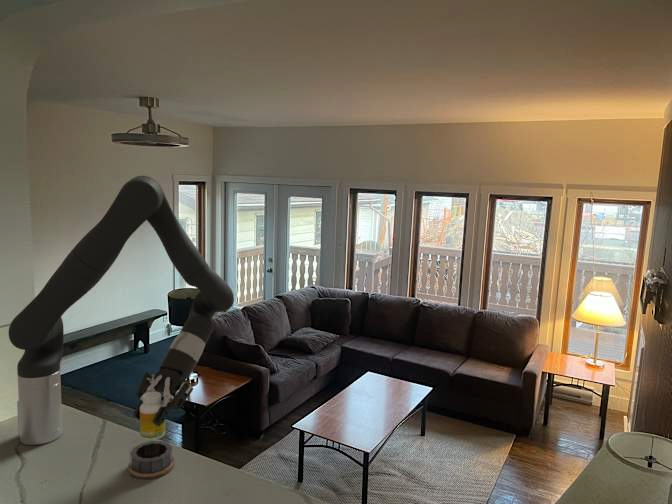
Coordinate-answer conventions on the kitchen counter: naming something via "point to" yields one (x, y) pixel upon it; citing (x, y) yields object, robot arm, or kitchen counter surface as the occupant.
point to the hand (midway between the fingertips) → (146, 421)
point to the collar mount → (151, 460)
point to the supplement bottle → (151, 416)
